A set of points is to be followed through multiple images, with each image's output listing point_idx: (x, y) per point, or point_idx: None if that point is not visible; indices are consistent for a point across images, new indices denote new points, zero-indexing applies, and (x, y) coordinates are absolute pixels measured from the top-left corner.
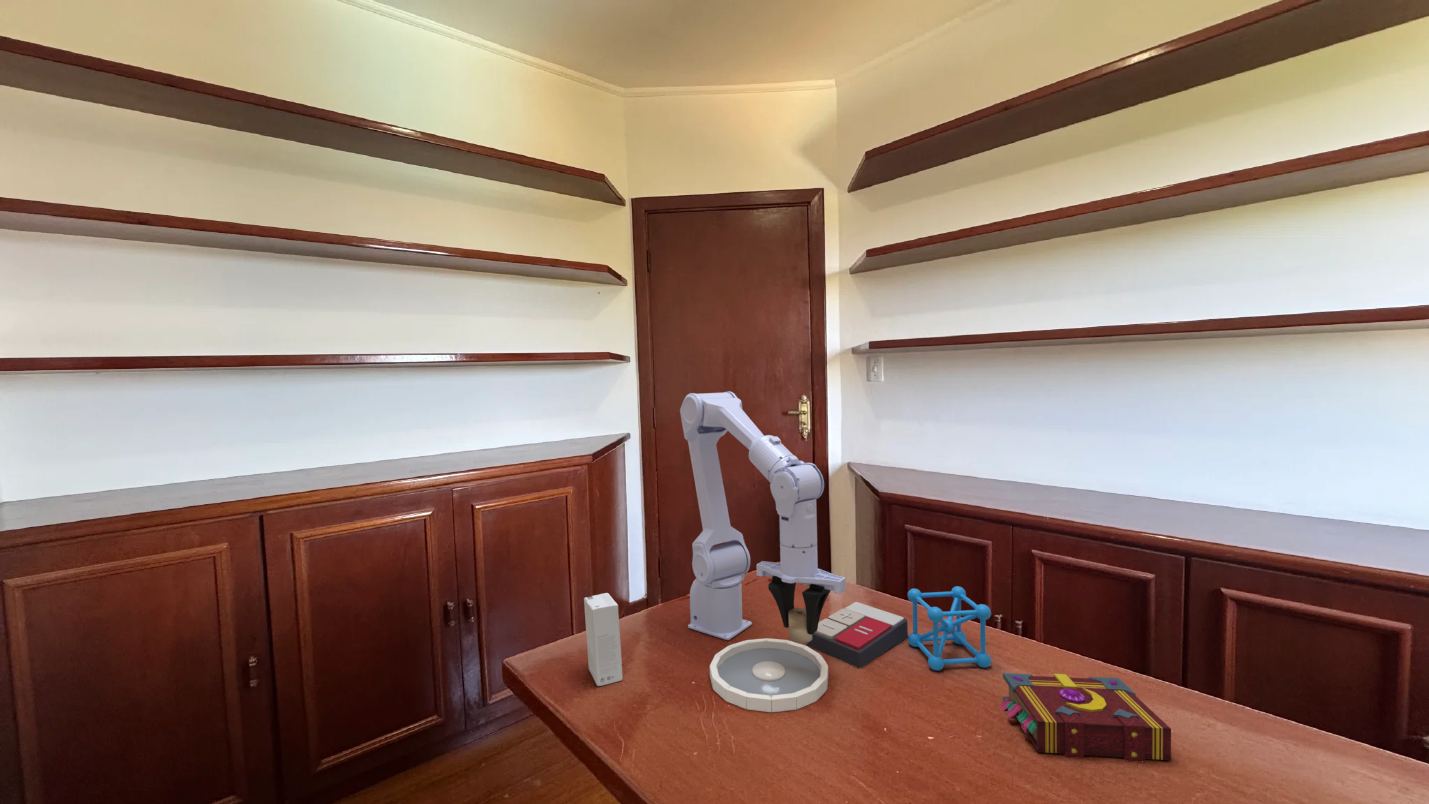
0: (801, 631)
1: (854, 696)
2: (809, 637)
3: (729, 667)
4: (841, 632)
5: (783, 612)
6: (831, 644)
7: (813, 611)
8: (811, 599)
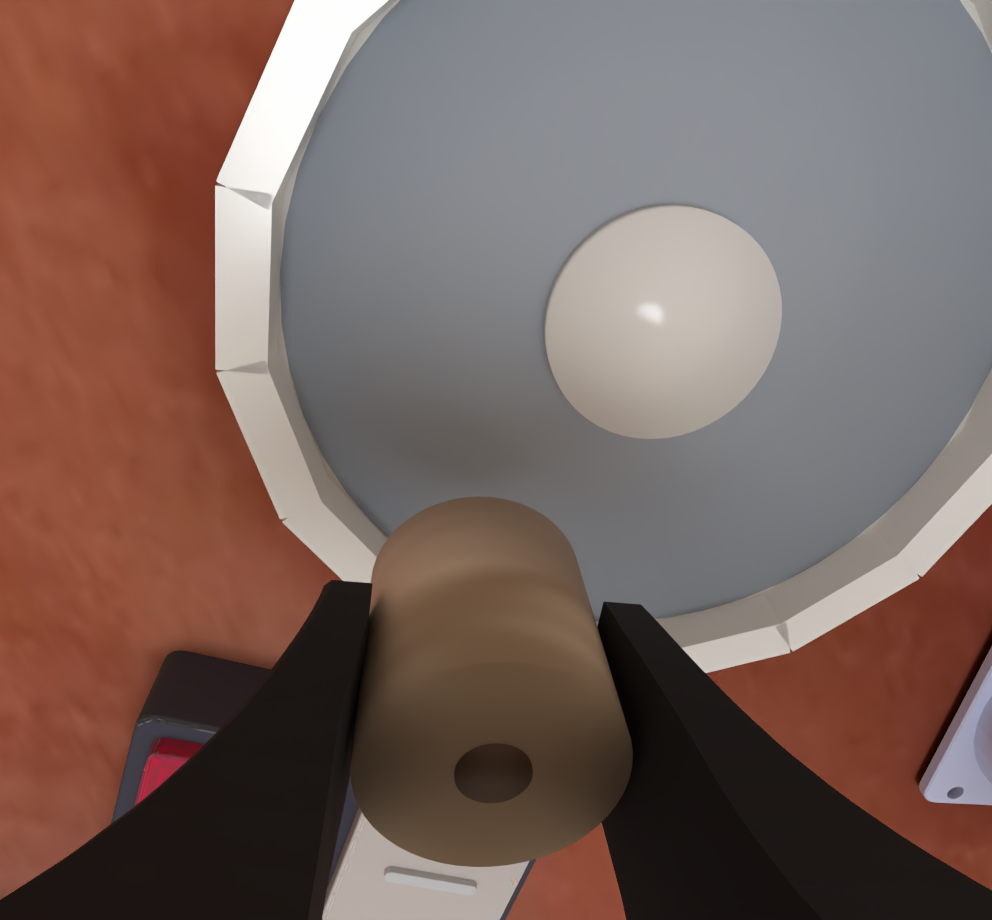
0: (427, 570)
1: (45, 351)
2: (372, 582)
3: (949, 269)
4: (339, 860)
5: (680, 696)
6: None
7: (201, 755)
8: (102, 911)
